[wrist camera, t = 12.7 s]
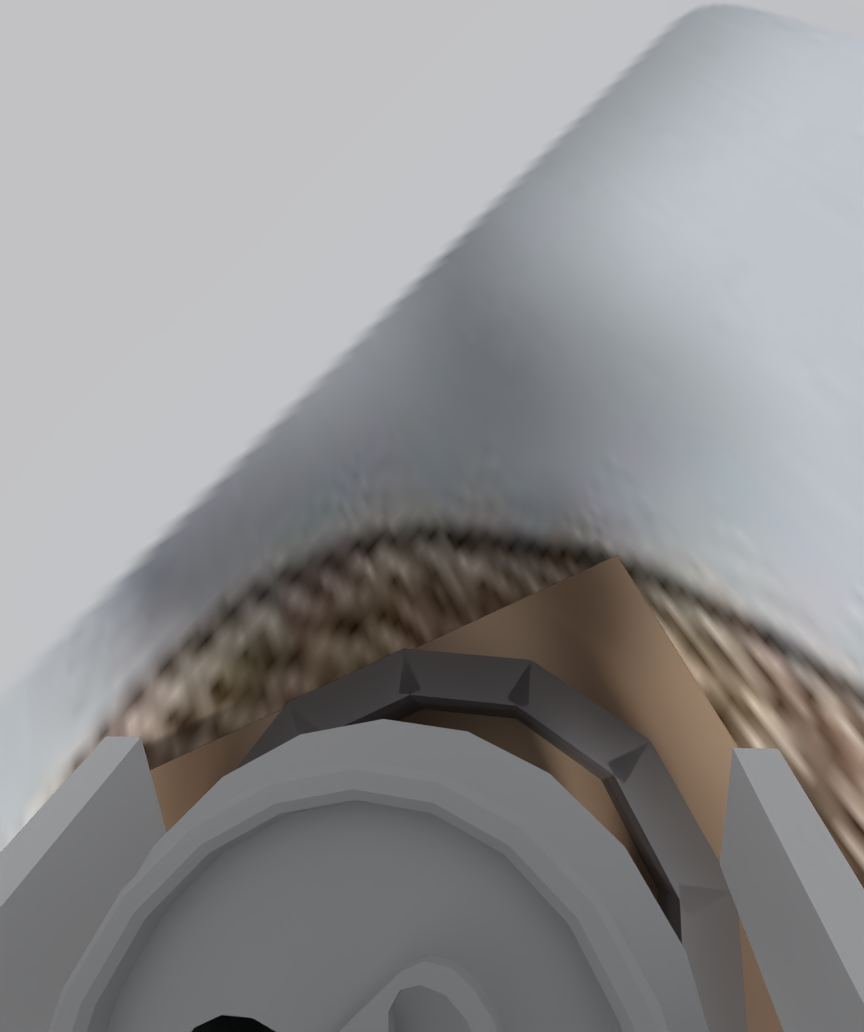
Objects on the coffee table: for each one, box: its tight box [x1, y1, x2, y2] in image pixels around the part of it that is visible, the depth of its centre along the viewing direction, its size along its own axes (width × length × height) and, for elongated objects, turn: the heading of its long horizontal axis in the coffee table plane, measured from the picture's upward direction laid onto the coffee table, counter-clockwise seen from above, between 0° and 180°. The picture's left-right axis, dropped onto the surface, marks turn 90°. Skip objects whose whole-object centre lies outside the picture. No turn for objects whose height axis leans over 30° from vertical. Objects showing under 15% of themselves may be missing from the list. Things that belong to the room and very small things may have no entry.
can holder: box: [150, 555, 784, 1032], centre depth 15 cm, size 18×14×4 cm
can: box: [48, 719, 709, 1032], centre depth 11 cm, size 8×8×12 cm
